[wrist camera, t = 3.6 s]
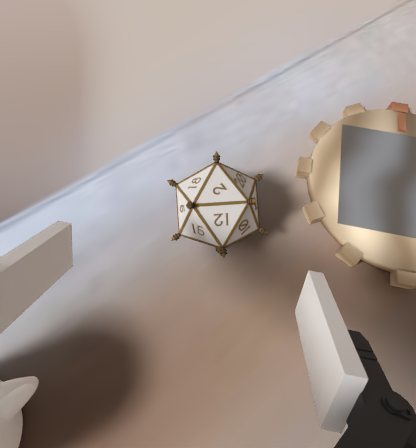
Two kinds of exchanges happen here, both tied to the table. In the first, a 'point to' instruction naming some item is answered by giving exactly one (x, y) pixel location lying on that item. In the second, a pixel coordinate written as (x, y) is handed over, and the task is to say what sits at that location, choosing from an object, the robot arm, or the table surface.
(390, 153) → the sprocket plate
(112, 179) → the table surface
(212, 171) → the game die
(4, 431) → the mug
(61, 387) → the table surface
